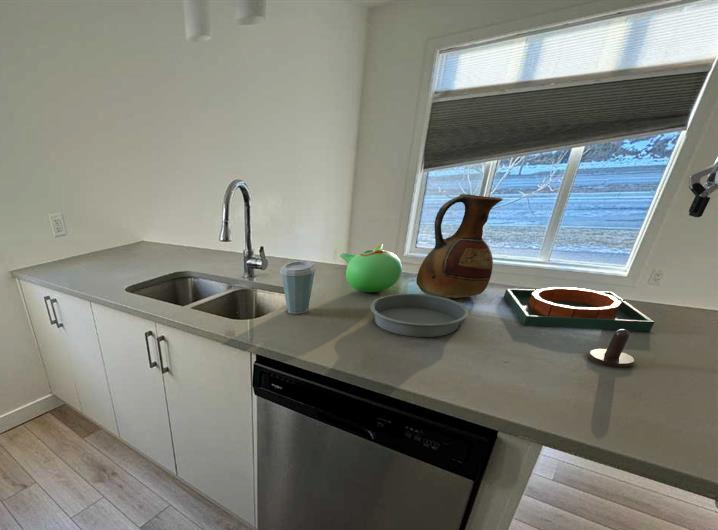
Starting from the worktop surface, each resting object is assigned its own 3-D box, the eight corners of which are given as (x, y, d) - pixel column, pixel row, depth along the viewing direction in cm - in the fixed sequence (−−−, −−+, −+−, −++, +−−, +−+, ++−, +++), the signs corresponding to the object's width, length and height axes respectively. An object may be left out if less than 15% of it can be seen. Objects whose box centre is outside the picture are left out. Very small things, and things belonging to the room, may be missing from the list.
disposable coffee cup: (298, 319, 124) (300, 270, 116) (272, 311, 131) (272, 265, 124) (320, 309, 129) (323, 262, 122) (294, 302, 137) (295, 257, 129)
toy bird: (359, 301, 133) (364, 256, 125) (334, 287, 147) (338, 246, 140) (408, 293, 135) (416, 248, 128) (379, 280, 150) (385, 239, 142)
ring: (598, 300, 116) (603, 288, 114) (628, 324, 101) (634, 311, 99) (521, 298, 122) (525, 286, 120) (539, 320, 108) (543, 307, 106)
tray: (608, 300, 117) (612, 291, 115) (649, 332, 98) (654, 322, 97) (503, 296, 126) (506, 288, 124) (523, 325, 107) (526, 316, 106)
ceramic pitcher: (496, 304, 121) (527, 195, 106) (424, 305, 125) (444, 200, 110) (470, 284, 138) (494, 188, 123) (407, 286, 141) (423, 193, 126)
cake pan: (419, 348, 101) (422, 331, 98) (350, 319, 120) (352, 304, 118) (486, 326, 109) (490, 310, 106) (411, 302, 128) (414, 288, 126)
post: (623, 354, 90) (638, 324, 87) (639, 369, 84) (655, 337, 81) (583, 351, 93) (595, 322, 89) (595, 365, 87) (609, 335, 83)
